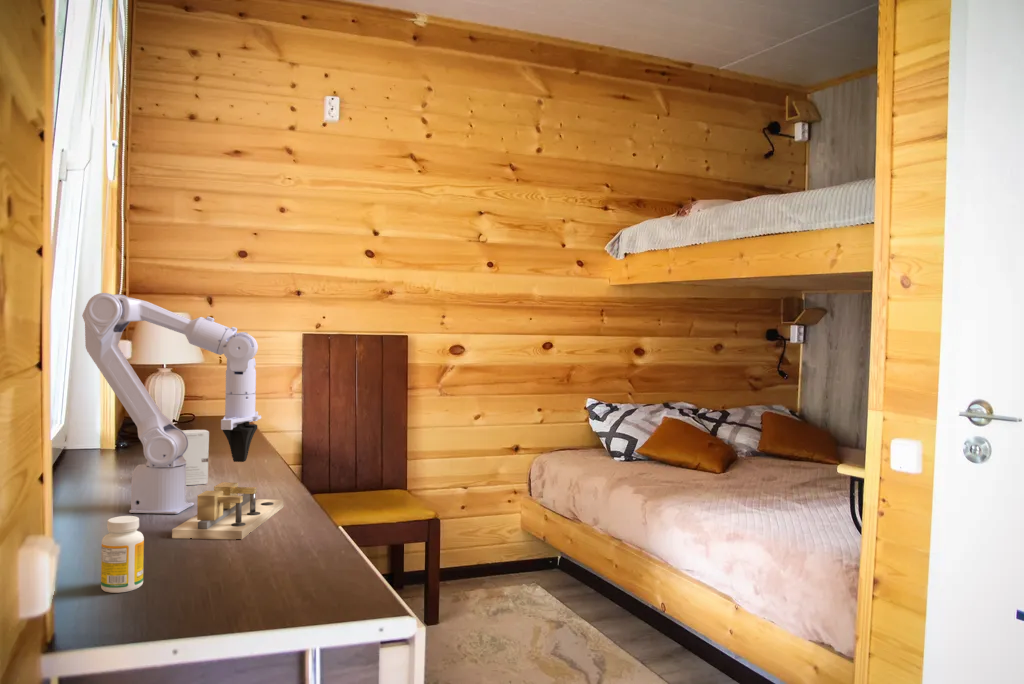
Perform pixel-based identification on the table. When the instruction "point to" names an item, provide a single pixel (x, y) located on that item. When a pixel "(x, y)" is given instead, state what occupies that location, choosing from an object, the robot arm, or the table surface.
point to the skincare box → (197, 457)
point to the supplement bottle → (122, 555)
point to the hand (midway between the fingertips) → (239, 461)
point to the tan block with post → (234, 490)
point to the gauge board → (225, 517)
